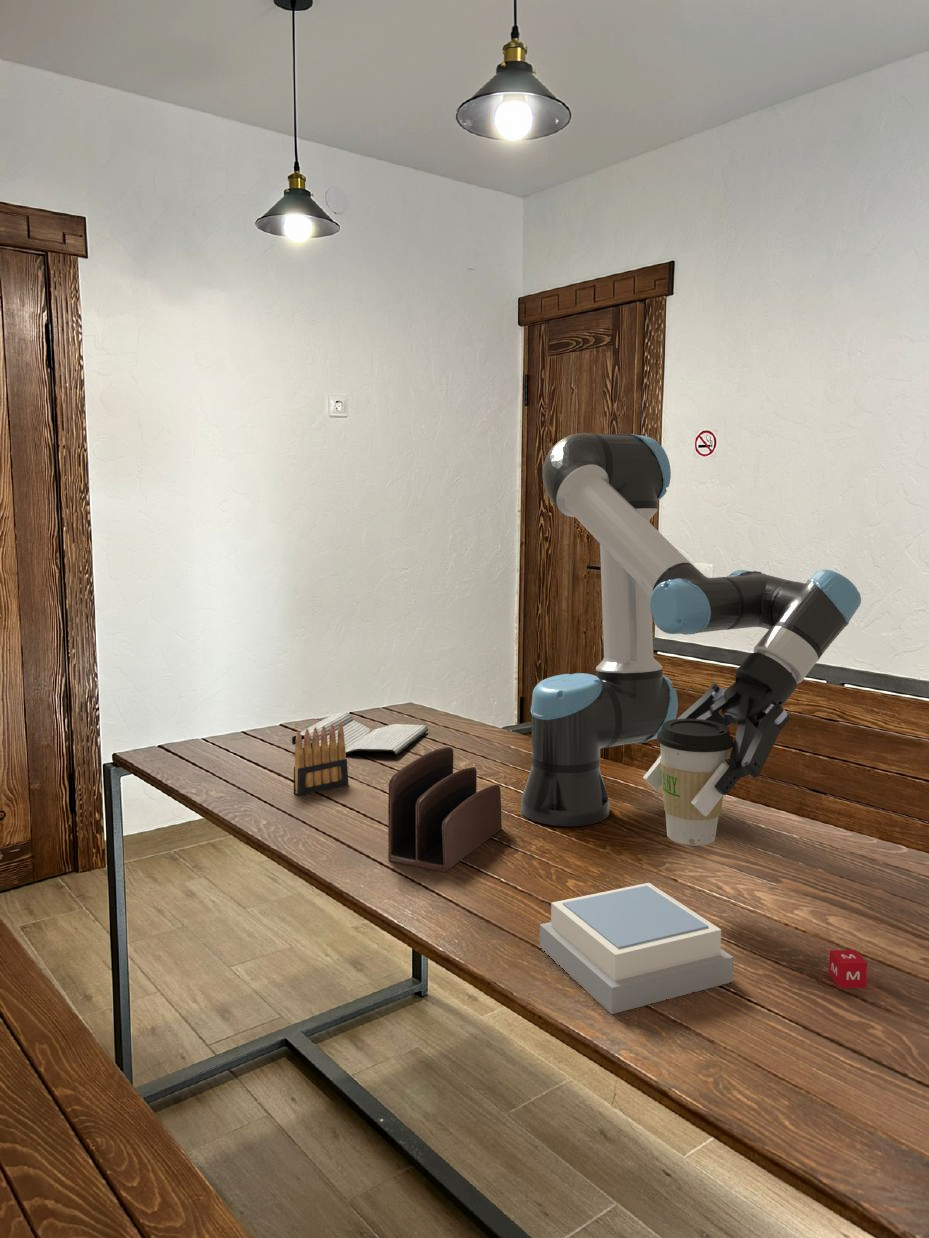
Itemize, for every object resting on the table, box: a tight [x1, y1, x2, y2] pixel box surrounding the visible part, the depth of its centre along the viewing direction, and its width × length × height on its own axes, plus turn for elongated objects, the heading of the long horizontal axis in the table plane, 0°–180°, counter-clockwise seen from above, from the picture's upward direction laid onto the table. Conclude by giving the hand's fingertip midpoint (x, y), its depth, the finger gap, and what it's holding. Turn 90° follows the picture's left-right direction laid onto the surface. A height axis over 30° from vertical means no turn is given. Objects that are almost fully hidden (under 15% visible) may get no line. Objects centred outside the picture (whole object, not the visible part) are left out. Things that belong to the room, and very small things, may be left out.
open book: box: [291, 711, 429, 759], centre depth 207 cm, size 23×24×5 cm
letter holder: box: [387, 746, 503, 873], centre depth 146 cm, size 10×20×14 cm, turn 153°
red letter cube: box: [827, 949, 868, 989], centre depth 106 cm, size 3×3×3 cm
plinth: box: [539, 882, 734, 1015], centre depth 109 cm, size 16×16×6 cm
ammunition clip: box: [293, 723, 350, 797], centre depth 174 cm, size 11×2×12 cm, turn 128°
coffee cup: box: [656, 718, 734, 847], centre depth 123 cm, size 10×10×15 cm
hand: (673, 796), depth 122 cm, fingers closed on coffee cup, 10 cm apart
